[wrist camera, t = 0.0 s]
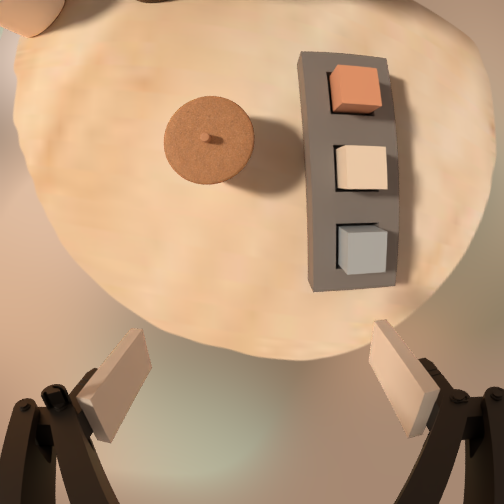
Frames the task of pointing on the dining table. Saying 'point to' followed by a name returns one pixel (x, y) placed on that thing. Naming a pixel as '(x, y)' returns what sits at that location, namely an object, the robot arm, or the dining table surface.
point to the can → (29, 15)
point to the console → (325, 177)
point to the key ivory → (361, 167)
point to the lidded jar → (209, 140)
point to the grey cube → (362, 249)
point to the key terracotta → (355, 89)
